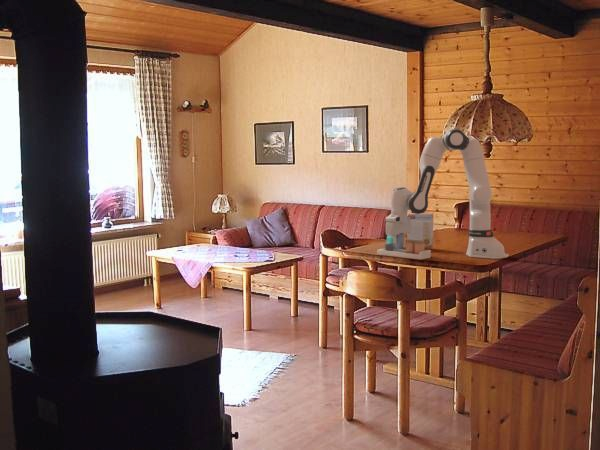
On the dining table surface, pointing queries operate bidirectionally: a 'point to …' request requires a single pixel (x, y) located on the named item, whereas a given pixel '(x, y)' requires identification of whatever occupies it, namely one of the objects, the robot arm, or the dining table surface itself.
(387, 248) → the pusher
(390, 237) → the decorative dice
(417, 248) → the jar front
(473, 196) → the robot arm
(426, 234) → the cracker box
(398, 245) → the blue jar
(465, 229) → the dining table surface
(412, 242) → the jar
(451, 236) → the dining table surface
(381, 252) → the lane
